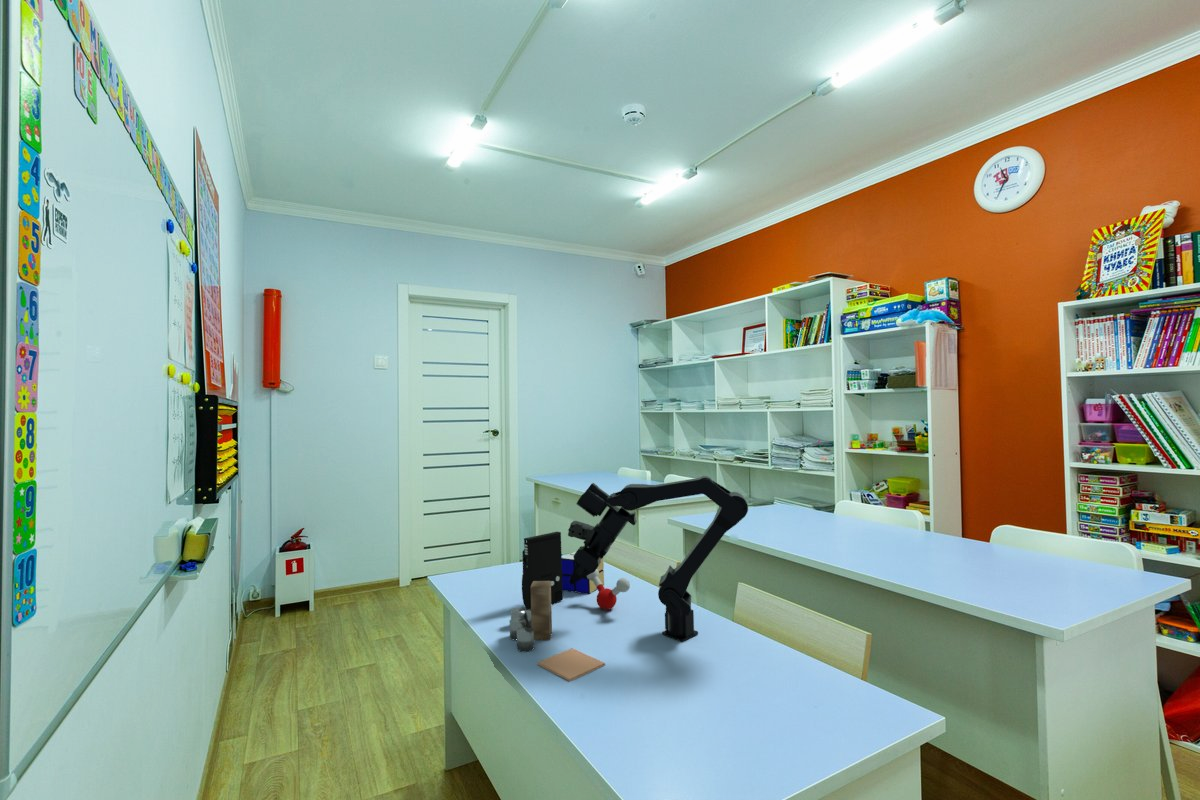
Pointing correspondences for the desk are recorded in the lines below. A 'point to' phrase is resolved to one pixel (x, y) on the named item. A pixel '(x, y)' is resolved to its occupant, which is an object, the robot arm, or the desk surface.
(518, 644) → the metal spacers
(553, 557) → the handheld gaming console
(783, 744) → the desk surface
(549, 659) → the rubber pad
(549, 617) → the walnut post
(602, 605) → the molecular model
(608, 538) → the robot arm
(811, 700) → the desk surface
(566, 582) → the puzzle cube
